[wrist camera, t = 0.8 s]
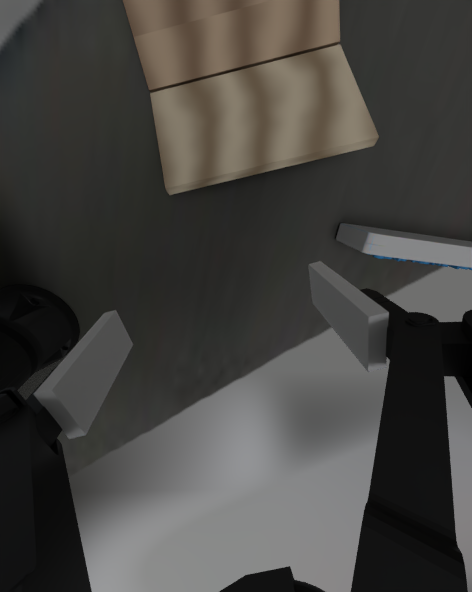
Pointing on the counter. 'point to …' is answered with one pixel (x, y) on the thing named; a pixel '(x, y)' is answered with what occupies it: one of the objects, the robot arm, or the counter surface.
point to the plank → (260, 120)
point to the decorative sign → (407, 246)
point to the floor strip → (225, 35)
